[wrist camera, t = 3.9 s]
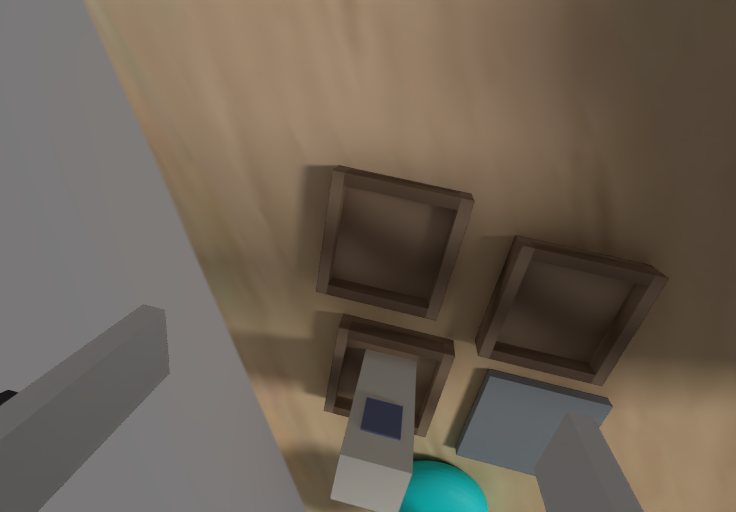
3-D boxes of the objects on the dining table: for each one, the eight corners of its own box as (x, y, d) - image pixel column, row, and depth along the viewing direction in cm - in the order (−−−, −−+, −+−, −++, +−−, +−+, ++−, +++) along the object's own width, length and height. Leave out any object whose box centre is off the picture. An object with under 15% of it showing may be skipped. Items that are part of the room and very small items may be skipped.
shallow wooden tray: (339, 165, 22) (332, 170, 21) (471, 193, 22) (474, 201, 20) (322, 279, 26) (315, 291, 24) (435, 306, 25) (436, 320, 24)
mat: (488, 368, 27) (490, 376, 26) (607, 398, 26) (612, 406, 26) (455, 446, 31) (456, 454, 30) (559, 473, 30) (562, 483, 29)
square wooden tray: (343, 313, 27) (338, 327, 25) (453, 340, 26) (454, 356, 25) (329, 394, 30) (323, 410, 29) (425, 419, 30) (425, 437, 28)
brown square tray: (515, 235, 22) (522, 245, 21) (650, 265, 22) (668, 278, 20) (474, 340, 26) (478, 355, 24) (590, 368, 25) (602, 386, 24)
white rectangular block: (366, 347, 27) (340, 452, 19) (417, 360, 27) (413, 471, 19) (357, 386, 29) (330, 498, 21) (404, 398, 28) (396, 517, 20)
